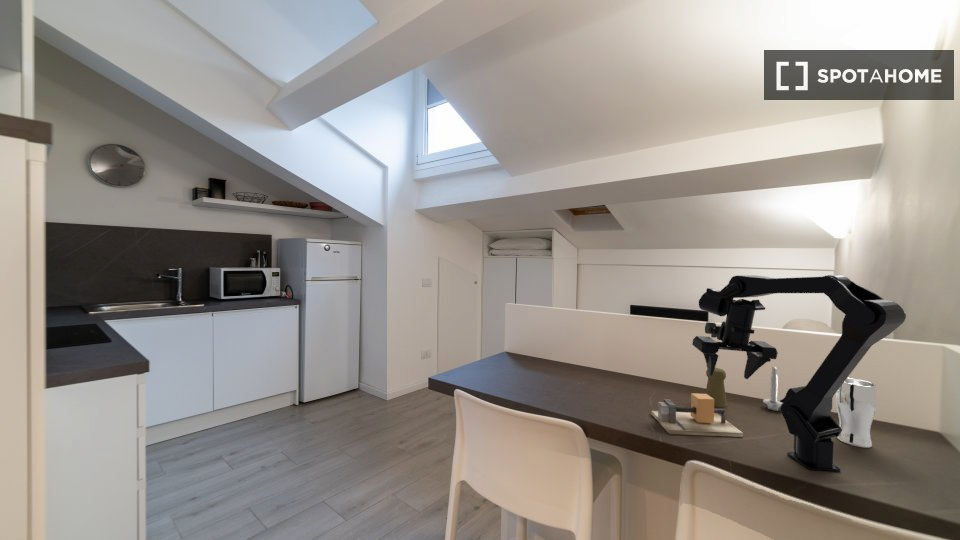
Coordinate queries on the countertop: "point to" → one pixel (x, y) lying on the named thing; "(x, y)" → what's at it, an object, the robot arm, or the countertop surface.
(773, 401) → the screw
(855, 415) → the silver metal tumbler
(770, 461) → the countertop surface
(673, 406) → the board
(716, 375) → the olive green shaker
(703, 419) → the orange block
